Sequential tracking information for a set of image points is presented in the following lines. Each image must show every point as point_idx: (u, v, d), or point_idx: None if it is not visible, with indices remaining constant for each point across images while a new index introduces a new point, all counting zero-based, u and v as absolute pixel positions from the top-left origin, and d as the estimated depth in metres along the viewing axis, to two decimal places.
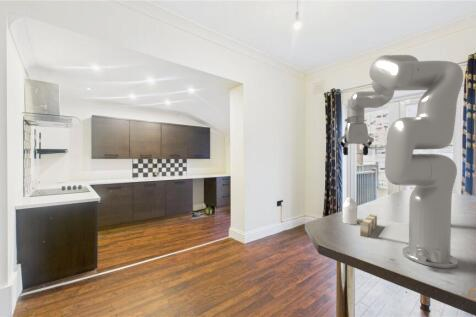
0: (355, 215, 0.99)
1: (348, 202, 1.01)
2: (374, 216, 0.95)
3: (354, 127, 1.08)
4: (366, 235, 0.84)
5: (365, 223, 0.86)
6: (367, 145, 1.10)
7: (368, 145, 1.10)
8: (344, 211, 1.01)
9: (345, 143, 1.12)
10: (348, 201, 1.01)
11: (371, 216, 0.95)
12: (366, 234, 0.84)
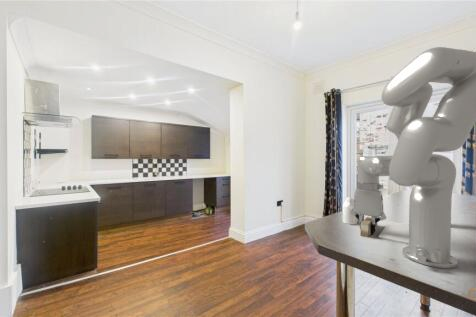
0: None
1: (348, 202, 1.01)
2: None
3: None
4: (366, 234, 0.84)
5: (365, 222, 0.86)
6: None
7: None
8: (344, 211, 1.01)
9: None
10: (348, 201, 1.01)
11: None
12: (366, 233, 0.84)
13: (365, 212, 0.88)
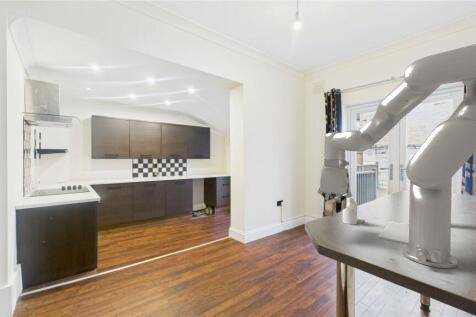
0: (355, 215, 0.99)
1: (348, 202, 1.01)
2: None
3: None
4: (330, 213, 0.81)
5: (330, 201, 0.83)
6: None
7: None
8: (344, 211, 1.01)
9: None
10: (348, 201, 1.01)
11: None
12: (330, 212, 0.81)
13: (331, 190, 0.85)
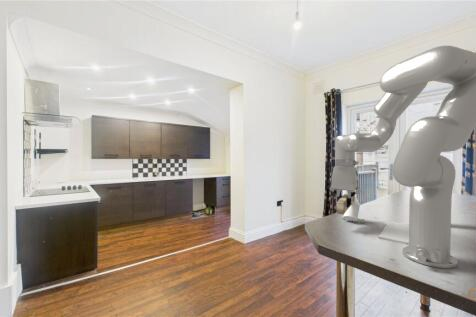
0: (357, 210, 1.02)
1: None
2: None
3: None
4: (342, 212, 0.91)
5: (341, 201, 0.92)
6: None
7: None
8: None
9: None
10: None
11: None
12: (342, 211, 0.91)
13: (342, 187, 0.94)
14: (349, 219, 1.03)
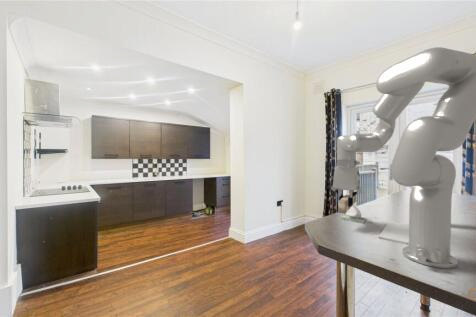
0: (358, 210, 1.06)
1: None
2: None
3: None
4: (343, 211, 0.92)
5: (342, 200, 0.93)
6: None
7: None
8: None
9: None
10: None
11: None
12: (343, 210, 0.92)
13: (343, 186, 0.96)
14: (349, 212, 1.04)
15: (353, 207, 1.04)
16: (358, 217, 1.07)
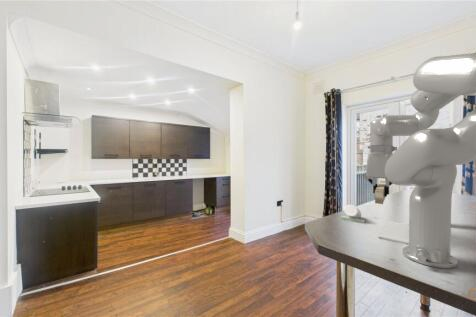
0: (358, 210, 1.06)
1: None
2: (385, 182, 0.95)
3: None
4: (381, 201, 0.84)
5: (379, 190, 0.85)
6: None
7: None
8: None
9: None
10: None
11: (382, 182, 0.95)
12: (381, 200, 0.84)
13: (379, 175, 0.88)
14: (349, 212, 1.04)
15: (353, 207, 1.04)
16: (358, 217, 1.07)
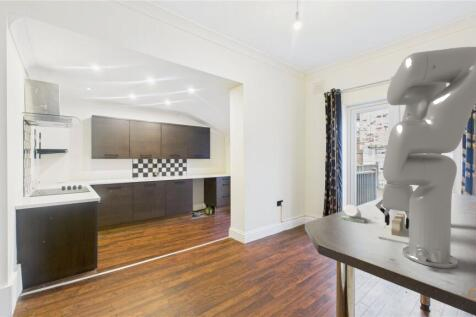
0: (358, 210, 1.06)
1: None
2: (402, 214, 0.95)
3: None
4: (398, 233, 0.84)
5: (396, 221, 0.85)
6: None
7: None
8: None
9: None
10: None
11: (399, 214, 0.95)
12: (398, 232, 0.84)
13: (395, 207, 0.88)
14: (349, 212, 1.04)
15: (353, 207, 1.04)
16: (358, 217, 1.07)
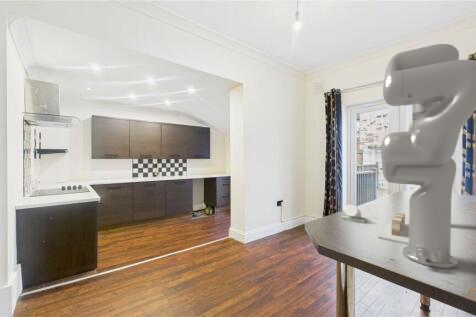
0: (358, 210, 1.06)
1: None
2: (402, 214, 0.95)
3: None
4: (398, 233, 0.84)
5: (396, 221, 0.85)
6: None
7: None
8: None
9: None
10: None
11: (399, 214, 0.95)
12: (398, 232, 0.84)
13: None
14: (349, 212, 1.04)
15: (353, 207, 1.04)
16: (358, 217, 1.07)
